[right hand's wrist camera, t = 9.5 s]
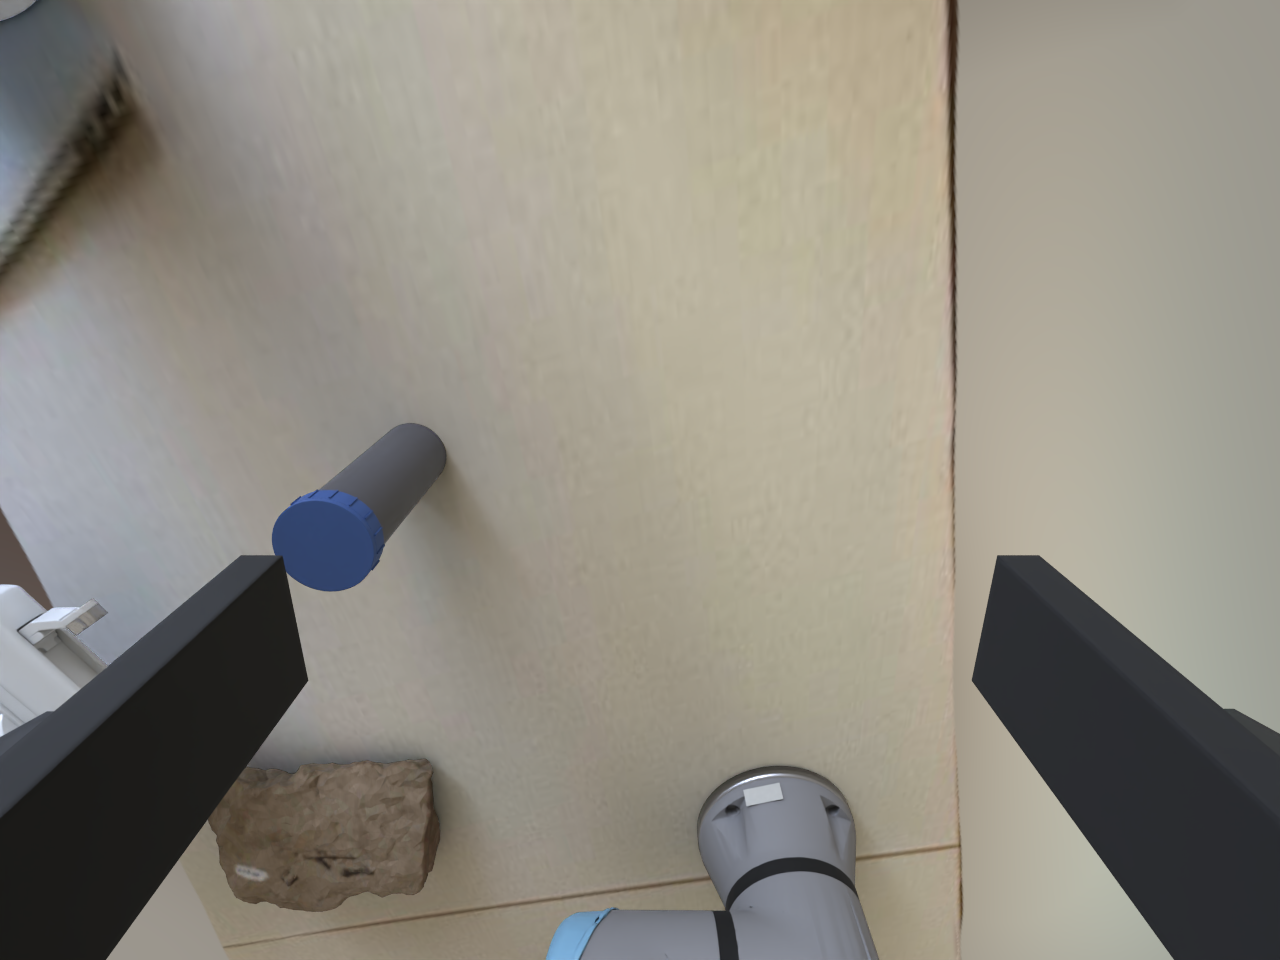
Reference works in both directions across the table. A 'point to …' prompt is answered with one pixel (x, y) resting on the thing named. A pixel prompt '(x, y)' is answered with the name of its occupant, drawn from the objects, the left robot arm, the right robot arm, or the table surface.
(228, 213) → the table surface
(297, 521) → the lid
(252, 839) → the stone
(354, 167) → the table surface
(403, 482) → the dark grey bottle
